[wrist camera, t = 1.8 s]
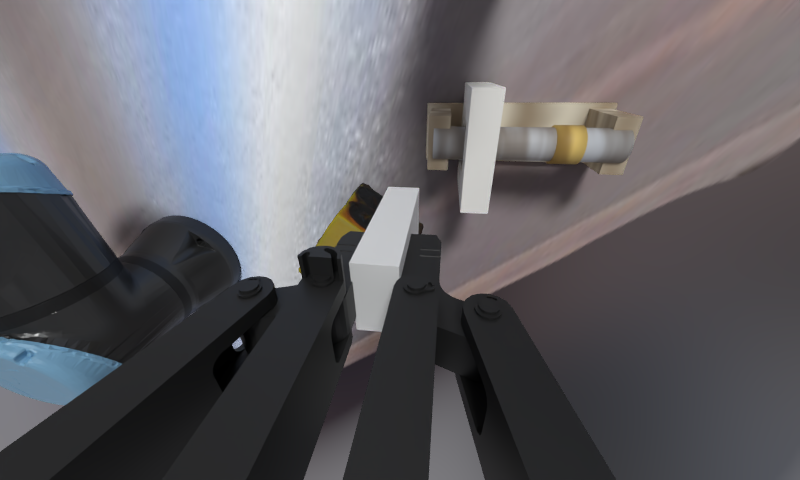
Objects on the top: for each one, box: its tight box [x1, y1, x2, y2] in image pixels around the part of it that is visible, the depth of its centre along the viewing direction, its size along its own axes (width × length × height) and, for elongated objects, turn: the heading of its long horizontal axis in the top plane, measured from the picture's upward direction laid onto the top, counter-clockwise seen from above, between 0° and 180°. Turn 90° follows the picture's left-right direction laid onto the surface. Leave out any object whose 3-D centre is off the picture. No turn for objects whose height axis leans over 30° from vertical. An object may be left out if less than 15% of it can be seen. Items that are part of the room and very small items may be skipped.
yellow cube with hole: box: [299, 183, 423, 273], centre depth 37 cm, size 10×10×10 cm
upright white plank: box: [457, 82, 506, 214], centre depth 28 cm, size 2×10×10 cm, turn 1°
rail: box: [426, 103, 643, 175], centre depth 30 cm, size 19×6×8 cm, turn 91°
